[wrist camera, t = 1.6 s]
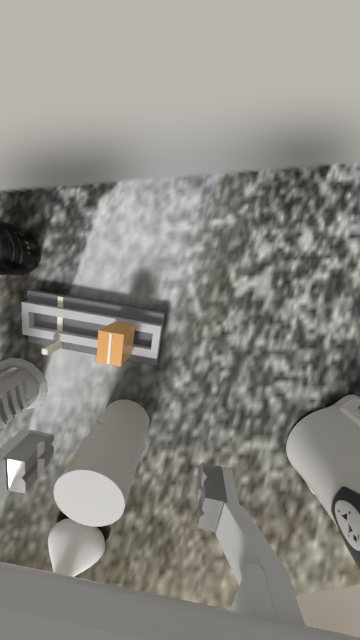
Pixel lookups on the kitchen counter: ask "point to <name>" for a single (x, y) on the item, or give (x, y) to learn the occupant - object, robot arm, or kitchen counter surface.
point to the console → (88, 324)
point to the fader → (115, 343)
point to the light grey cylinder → (104, 466)
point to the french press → (19, 388)
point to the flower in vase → (74, 547)
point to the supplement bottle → (17, 250)
